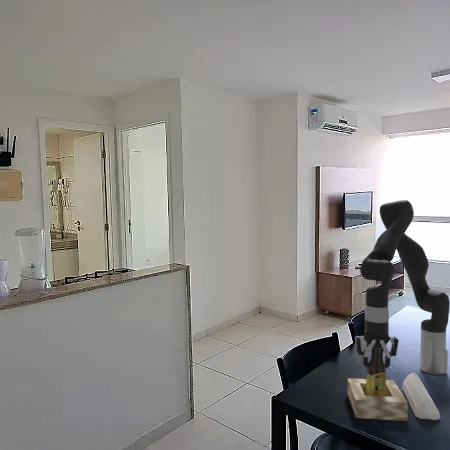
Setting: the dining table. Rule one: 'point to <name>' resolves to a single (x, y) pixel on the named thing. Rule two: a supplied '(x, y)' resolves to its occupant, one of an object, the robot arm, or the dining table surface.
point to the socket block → (377, 402)
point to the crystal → (419, 398)
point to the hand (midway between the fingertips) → (376, 366)
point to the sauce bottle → (376, 374)
